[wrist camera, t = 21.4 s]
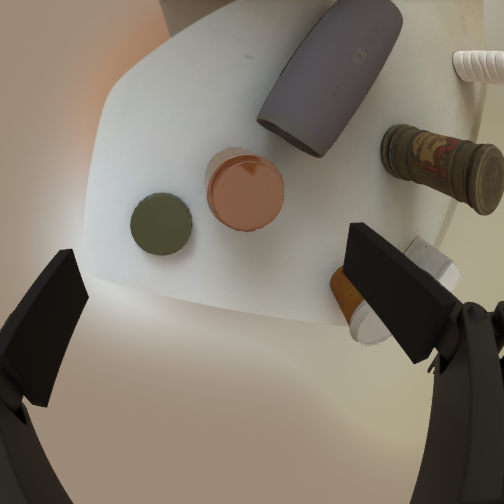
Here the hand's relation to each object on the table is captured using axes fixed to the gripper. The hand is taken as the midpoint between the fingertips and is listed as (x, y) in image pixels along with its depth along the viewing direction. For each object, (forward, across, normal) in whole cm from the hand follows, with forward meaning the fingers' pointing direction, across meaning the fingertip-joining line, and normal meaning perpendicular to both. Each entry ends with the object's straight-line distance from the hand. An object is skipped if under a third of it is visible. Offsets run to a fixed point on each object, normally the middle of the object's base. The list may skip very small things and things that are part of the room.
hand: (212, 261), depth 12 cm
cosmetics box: (+23, +36, -18) cm, 47 cm away
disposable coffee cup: (+23, +22, -19) cm, 37 cm away
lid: (+22, -6, -6) cm, 23 cm away
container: (+24, +30, +3) cm, 38 cm away
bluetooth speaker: (+24, +15, +13) cm, 31 cm away
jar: (+23, +4, -1) cm, 24 cm away
